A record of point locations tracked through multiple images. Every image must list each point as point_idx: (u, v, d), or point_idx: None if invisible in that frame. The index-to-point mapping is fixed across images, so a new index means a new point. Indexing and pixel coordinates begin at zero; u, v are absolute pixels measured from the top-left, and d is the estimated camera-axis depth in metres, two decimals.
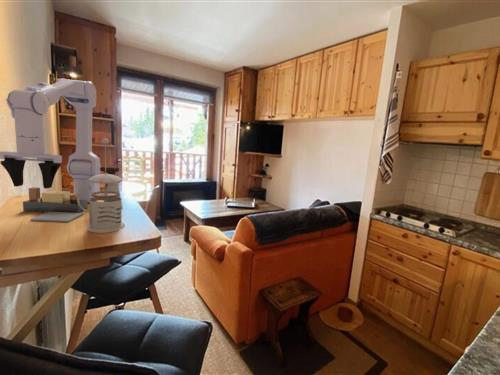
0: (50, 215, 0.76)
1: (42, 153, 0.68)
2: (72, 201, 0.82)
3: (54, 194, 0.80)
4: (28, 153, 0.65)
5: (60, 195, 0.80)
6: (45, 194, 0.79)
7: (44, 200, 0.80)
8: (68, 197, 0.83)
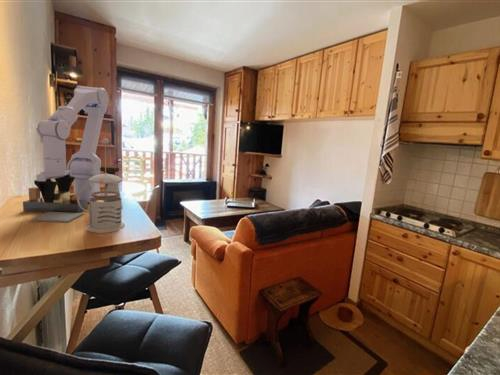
0: (50, 215, 0.76)
1: (49, 172, 0.78)
2: (72, 201, 0.82)
3: (54, 194, 0.80)
4: (44, 171, 0.79)
5: (60, 195, 0.80)
6: None
7: None
8: (68, 197, 0.83)
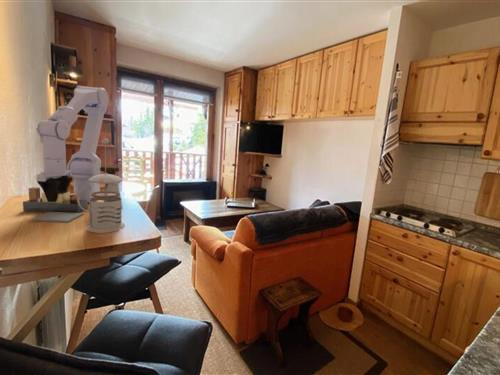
0: (50, 215, 0.76)
1: (49, 172, 0.78)
2: (72, 201, 0.82)
3: None
4: (44, 171, 0.79)
5: (60, 195, 0.80)
6: None
7: (44, 200, 0.80)
8: (68, 197, 0.83)
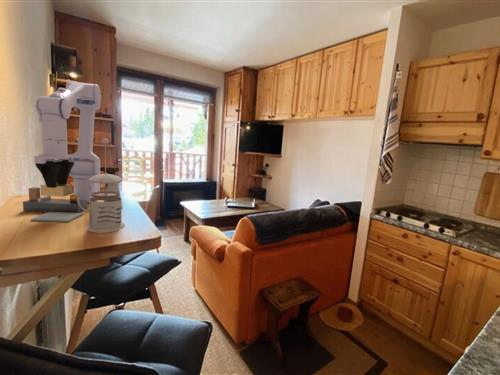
0: (50, 215, 0.76)
1: (49, 154, 0.70)
2: (72, 201, 0.82)
3: None
4: (43, 153, 0.71)
5: (61, 188, 0.73)
6: (44, 186, 0.72)
7: (43, 193, 0.72)
8: (69, 190, 0.76)
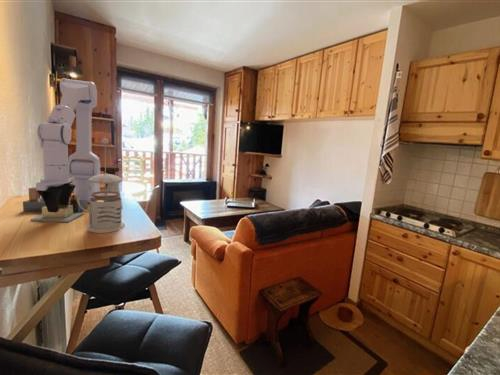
0: None
1: (50, 180, 0.71)
2: (72, 201, 0.82)
3: None
4: (44, 178, 0.72)
5: (62, 210, 0.73)
6: (45, 209, 0.72)
7: (44, 215, 0.73)
8: (70, 211, 0.77)
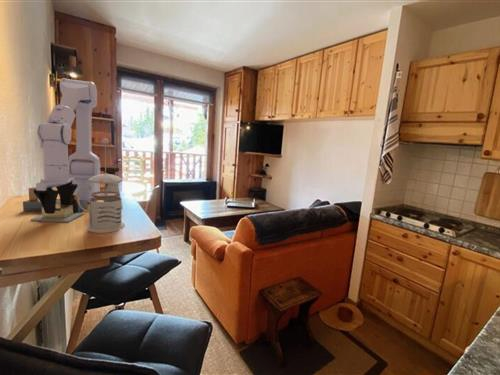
0: None
1: (50, 180, 0.71)
2: (72, 201, 0.82)
3: (55, 209, 0.73)
4: (44, 178, 0.72)
5: (62, 210, 0.73)
6: None
7: (44, 215, 0.73)
8: (70, 211, 0.77)
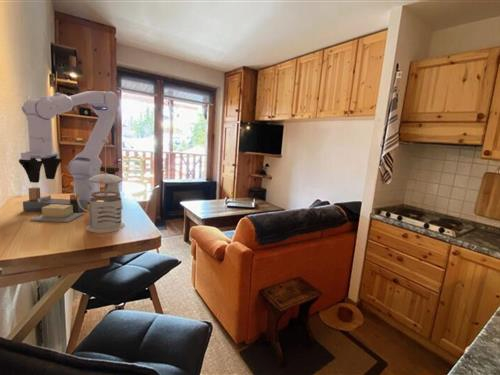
0: None
1: (35, 151, 0.77)
2: (72, 201, 0.82)
3: (55, 209, 0.73)
4: (29, 150, 0.78)
5: (62, 210, 0.73)
6: (45, 209, 0.72)
7: (44, 215, 0.73)
8: (70, 211, 0.77)
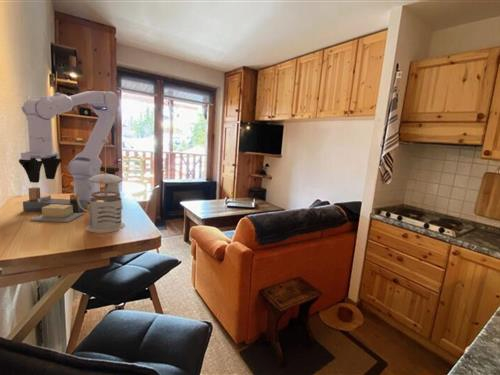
0: None
1: (35, 151, 0.77)
2: (72, 201, 0.82)
3: (55, 209, 0.73)
4: (29, 150, 0.78)
5: (62, 210, 0.73)
6: (45, 209, 0.72)
7: (44, 215, 0.73)
8: (70, 211, 0.77)
